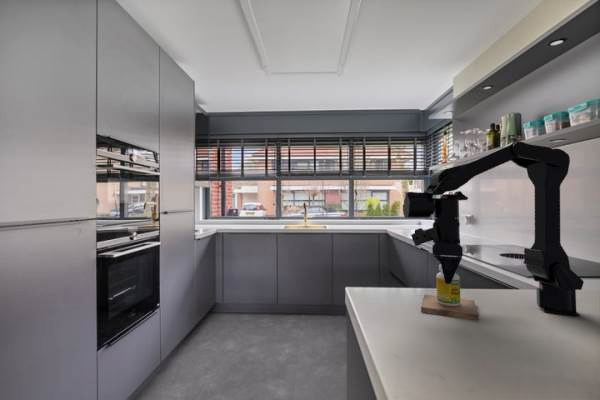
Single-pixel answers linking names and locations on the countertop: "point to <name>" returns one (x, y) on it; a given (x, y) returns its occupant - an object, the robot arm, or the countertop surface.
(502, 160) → the robot arm
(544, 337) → the countertop surface
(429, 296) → the walnut board
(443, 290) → the supplement bottle
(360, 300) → the countertop surface
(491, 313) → the countertop surface
